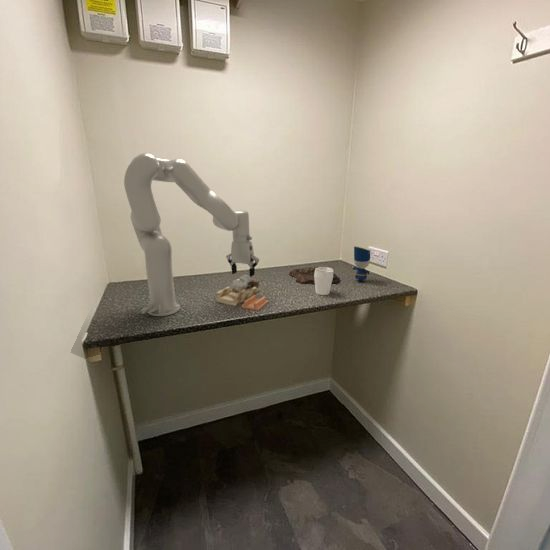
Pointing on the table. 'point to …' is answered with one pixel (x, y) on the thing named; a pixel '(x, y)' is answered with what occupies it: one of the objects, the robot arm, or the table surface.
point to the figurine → (361, 262)
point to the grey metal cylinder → (241, 283)
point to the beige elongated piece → (236, 294)
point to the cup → (323, 280)
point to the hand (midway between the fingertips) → (243, 274)
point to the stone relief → (308, 276)
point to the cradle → (255, 303)
